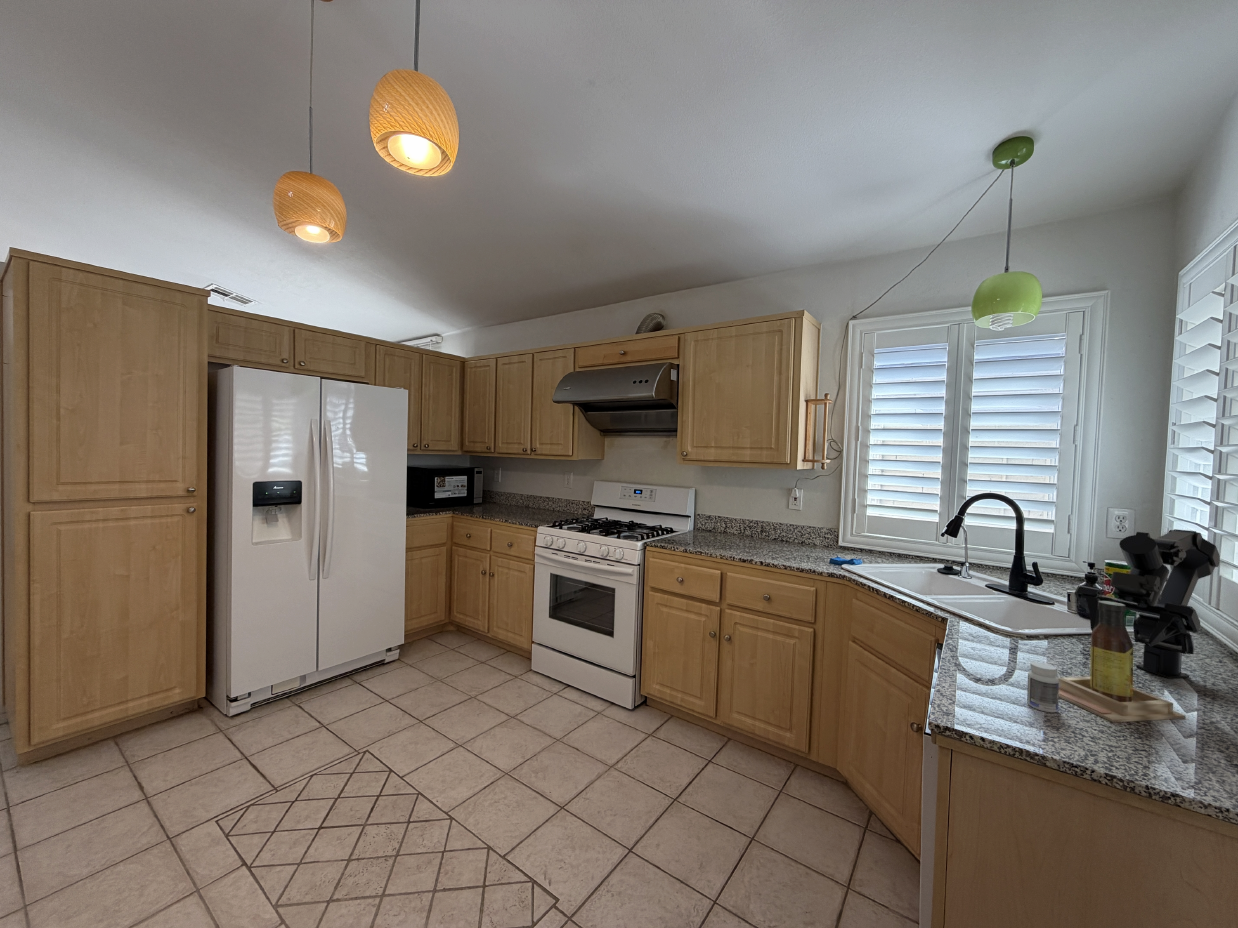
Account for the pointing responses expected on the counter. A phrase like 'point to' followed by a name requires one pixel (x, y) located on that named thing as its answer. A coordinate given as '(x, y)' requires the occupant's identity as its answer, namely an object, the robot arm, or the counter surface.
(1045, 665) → the pill bottle
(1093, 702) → the wooden tray
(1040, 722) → the counter surface
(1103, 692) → the sauce bottle
